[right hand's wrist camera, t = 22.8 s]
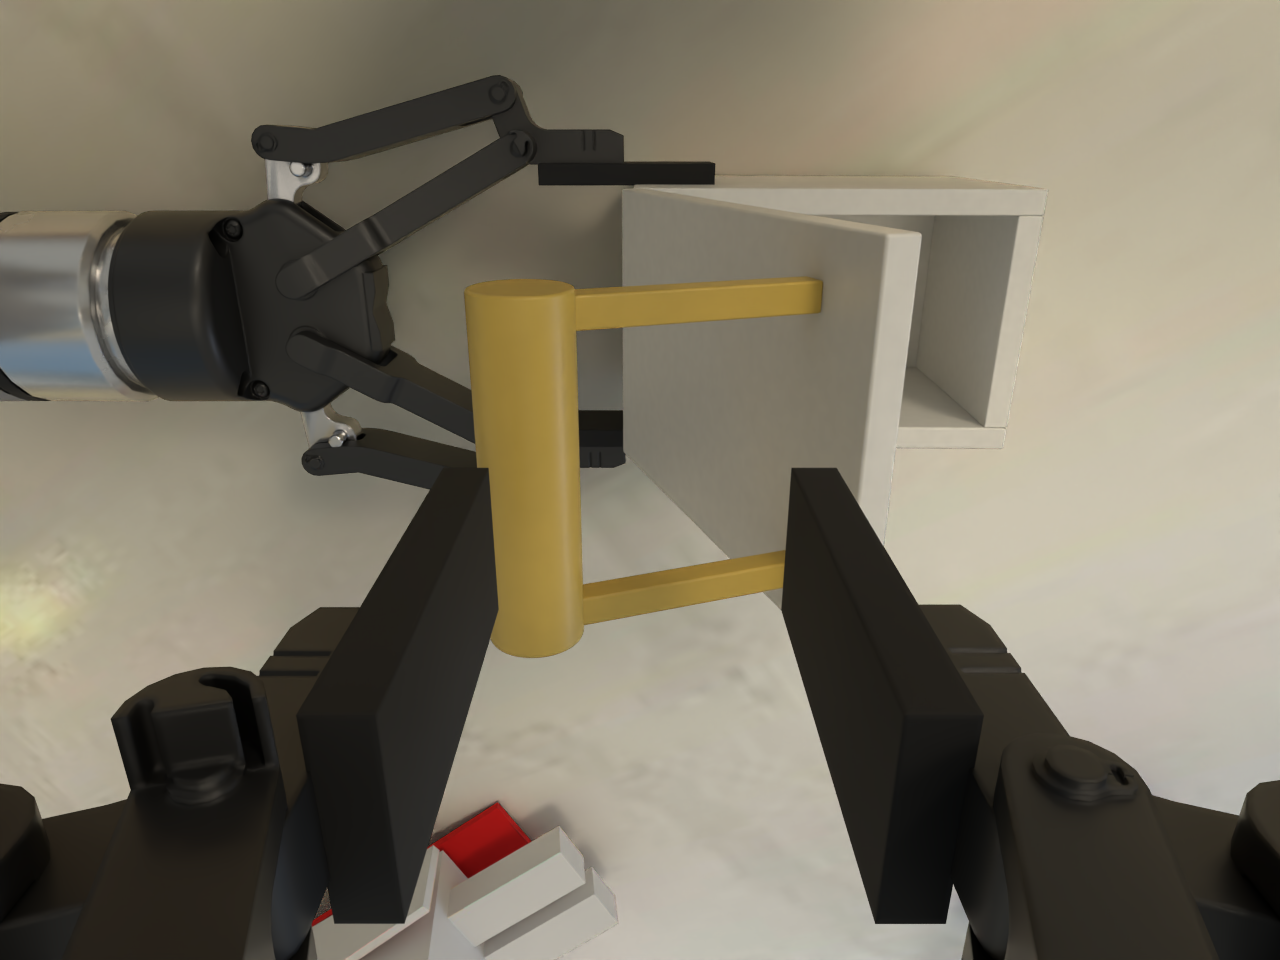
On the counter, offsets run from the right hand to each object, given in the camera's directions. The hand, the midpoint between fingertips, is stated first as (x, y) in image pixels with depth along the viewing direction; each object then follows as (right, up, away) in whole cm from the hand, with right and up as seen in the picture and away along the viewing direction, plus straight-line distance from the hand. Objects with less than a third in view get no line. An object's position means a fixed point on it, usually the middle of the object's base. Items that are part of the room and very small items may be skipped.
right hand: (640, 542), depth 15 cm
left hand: (+3, +8, +20) cm, 22 cm away
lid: (+3, +4, +10) cm, 11 cm away
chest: (+7, +11, +26) cm, 29 cm away
